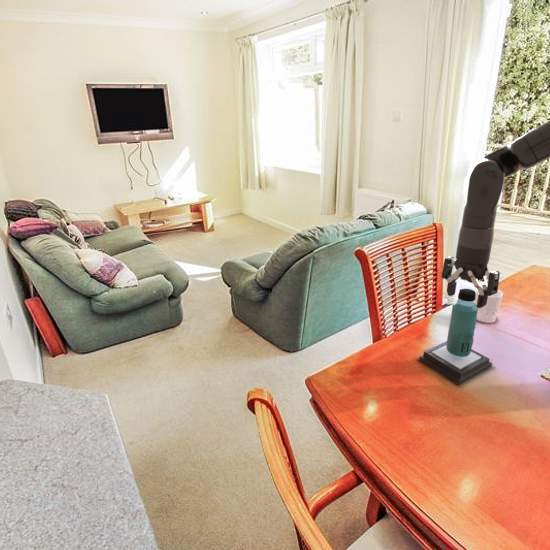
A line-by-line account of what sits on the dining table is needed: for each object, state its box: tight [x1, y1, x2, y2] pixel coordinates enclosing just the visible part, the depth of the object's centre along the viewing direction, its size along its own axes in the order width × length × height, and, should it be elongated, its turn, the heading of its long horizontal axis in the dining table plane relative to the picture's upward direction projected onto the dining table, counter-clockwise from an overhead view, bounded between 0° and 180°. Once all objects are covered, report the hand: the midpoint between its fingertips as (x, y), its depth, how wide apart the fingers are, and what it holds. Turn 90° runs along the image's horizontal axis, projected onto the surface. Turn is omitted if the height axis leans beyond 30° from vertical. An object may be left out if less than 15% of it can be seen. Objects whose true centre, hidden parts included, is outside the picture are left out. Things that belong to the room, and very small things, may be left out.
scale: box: [418, 340, 493, 386], centre depth 106 cm, size 14×13×3 cm
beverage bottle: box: [445, 288, 478, 357], centre depth 101 cm, size 6×7×20 cm
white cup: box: [474, 289, 504, 324], centre depth 127 cm, size 8×8×10 cm
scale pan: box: [431, 345, 482, 370], centre depth 106 cm, size 9×9×2 cm
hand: (465, 300), depth 99 cm, fingers open, 8 cm apart
